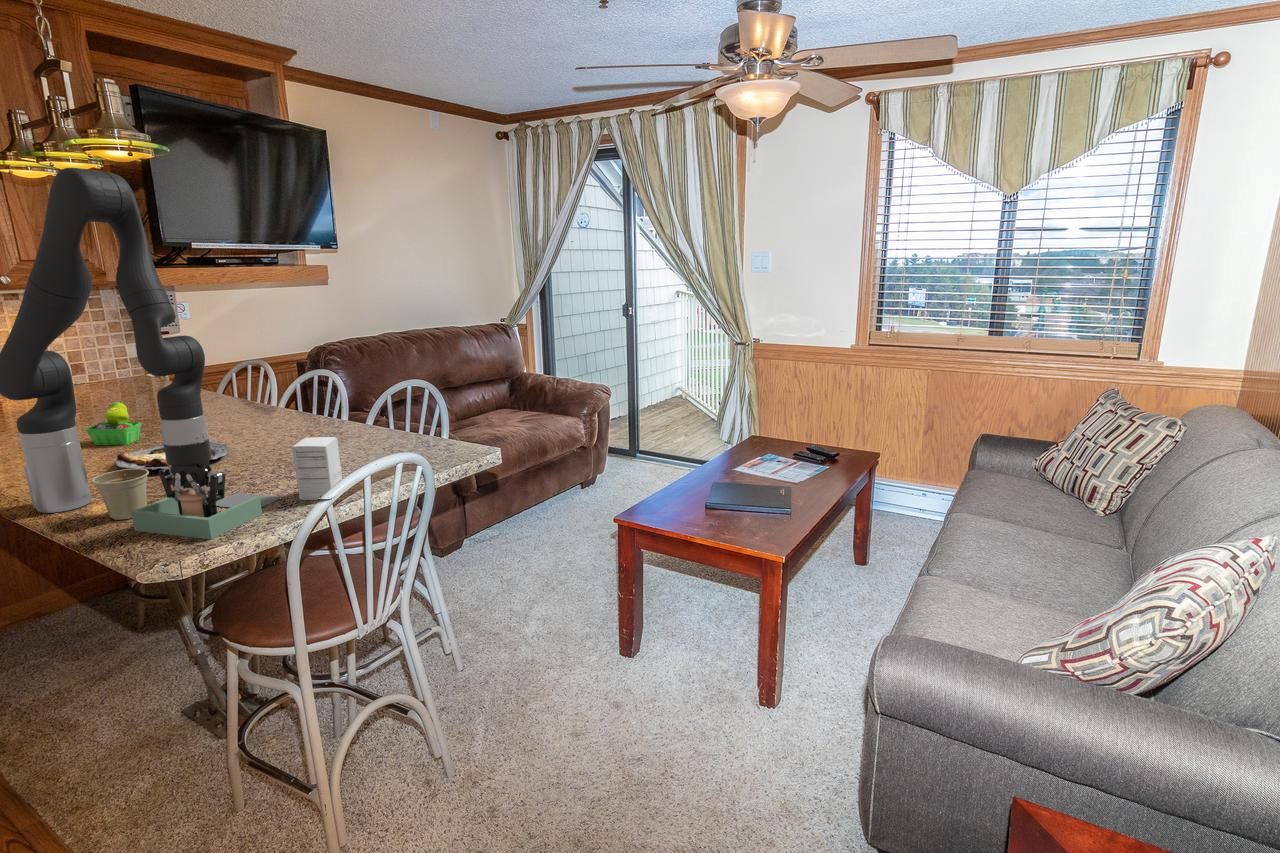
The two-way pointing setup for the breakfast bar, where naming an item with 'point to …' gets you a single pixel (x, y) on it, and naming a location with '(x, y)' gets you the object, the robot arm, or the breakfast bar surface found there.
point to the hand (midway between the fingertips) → (199, 518)
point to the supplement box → (316, 466)
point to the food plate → (159, 457)
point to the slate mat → (244, 499)
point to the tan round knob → (192, 503)
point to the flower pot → (123, 491)
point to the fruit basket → (115, 427)
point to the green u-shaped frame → (193, 519)
